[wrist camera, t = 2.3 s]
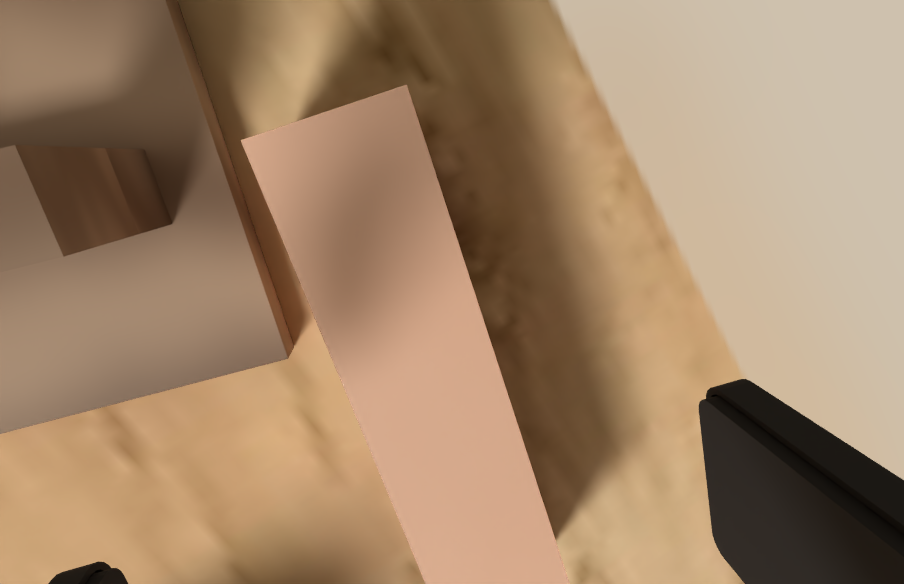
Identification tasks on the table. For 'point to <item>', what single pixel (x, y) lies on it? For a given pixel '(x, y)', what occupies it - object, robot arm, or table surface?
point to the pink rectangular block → (408, 337)
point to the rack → (118, 215)
